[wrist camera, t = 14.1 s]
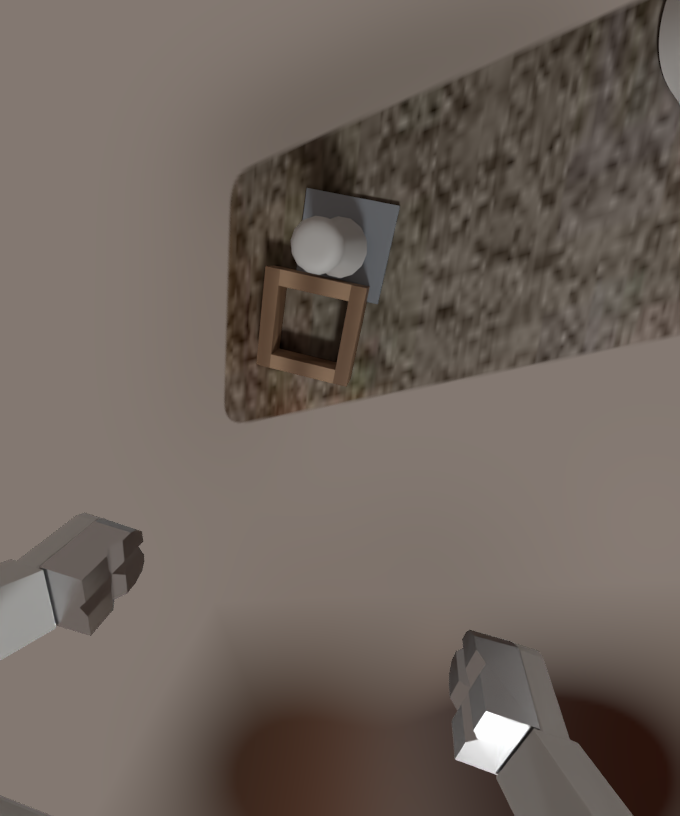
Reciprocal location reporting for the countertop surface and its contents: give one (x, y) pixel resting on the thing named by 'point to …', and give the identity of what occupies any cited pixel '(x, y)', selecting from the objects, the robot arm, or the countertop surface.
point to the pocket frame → (273, 318)
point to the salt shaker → (329, 246)
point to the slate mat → (374, 224)
